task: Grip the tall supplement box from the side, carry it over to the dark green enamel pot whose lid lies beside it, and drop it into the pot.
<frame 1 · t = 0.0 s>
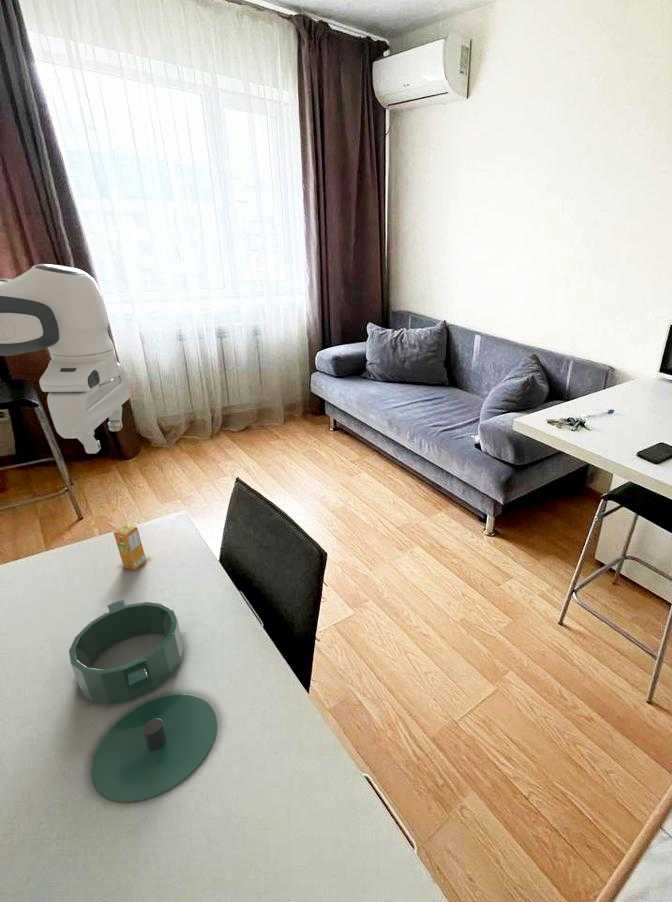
hand: (105, 440, 89), 31 cm above the table, tool pointing down, fingers open, 8 cm apart
pot: (134, 667, 82), on the table
pot lid: (157, 744, 71), point 1 cm above the table
supplement box: (135, 568, 105), on the table
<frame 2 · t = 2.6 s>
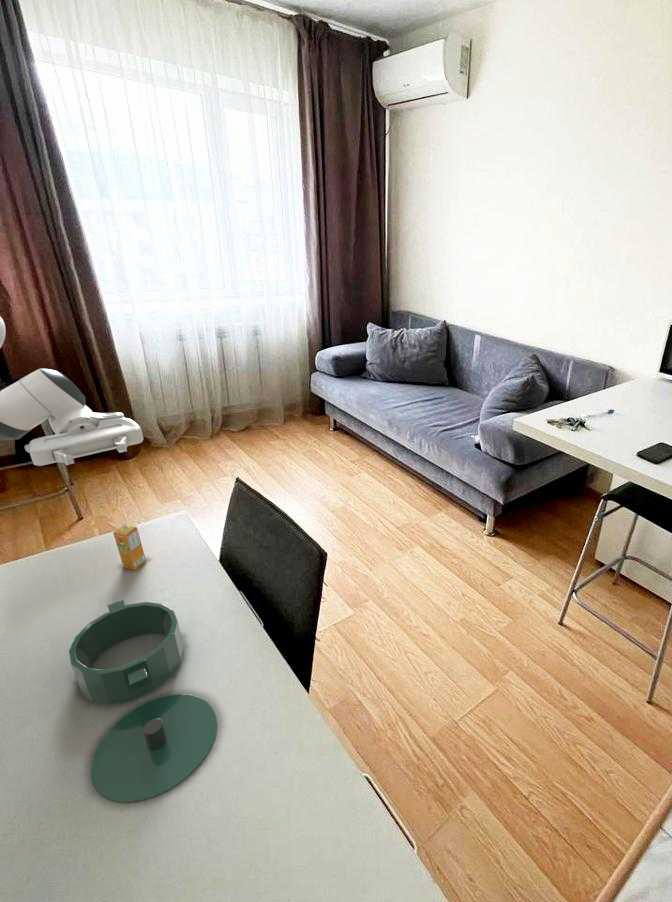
hand: (96, 454, 103), 22 cm above the table, tool horizontal, fingers open, 8 cm apart
nothing on the table moved.
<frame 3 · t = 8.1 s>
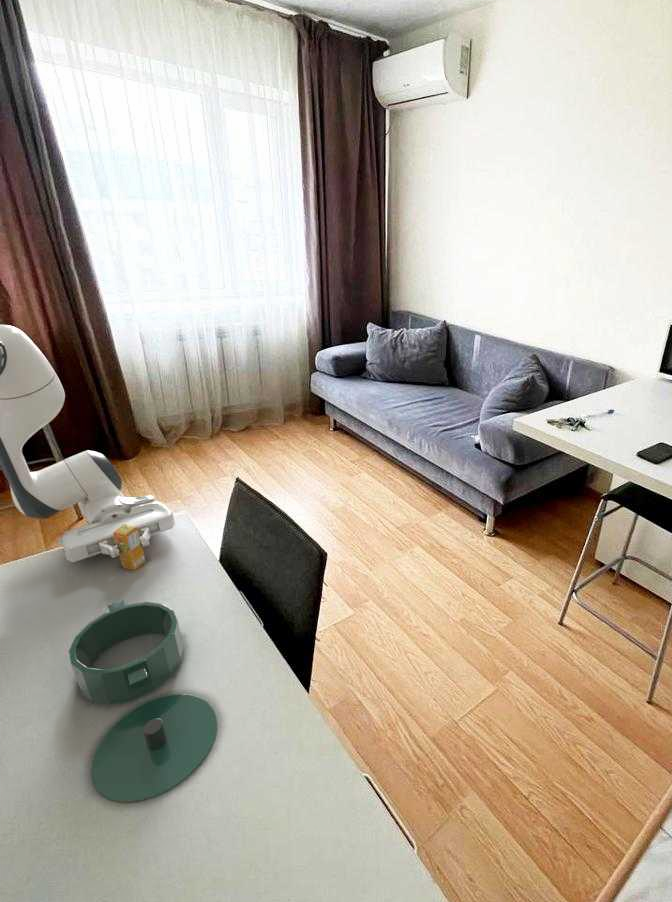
hand: (131, 548, 102), 6 cm above the table, tool horizontal, fingers closed on supplement box, 4 cm apart
supplement box: (134, 568, 104), on the table, touching gripper
everything else where it was.
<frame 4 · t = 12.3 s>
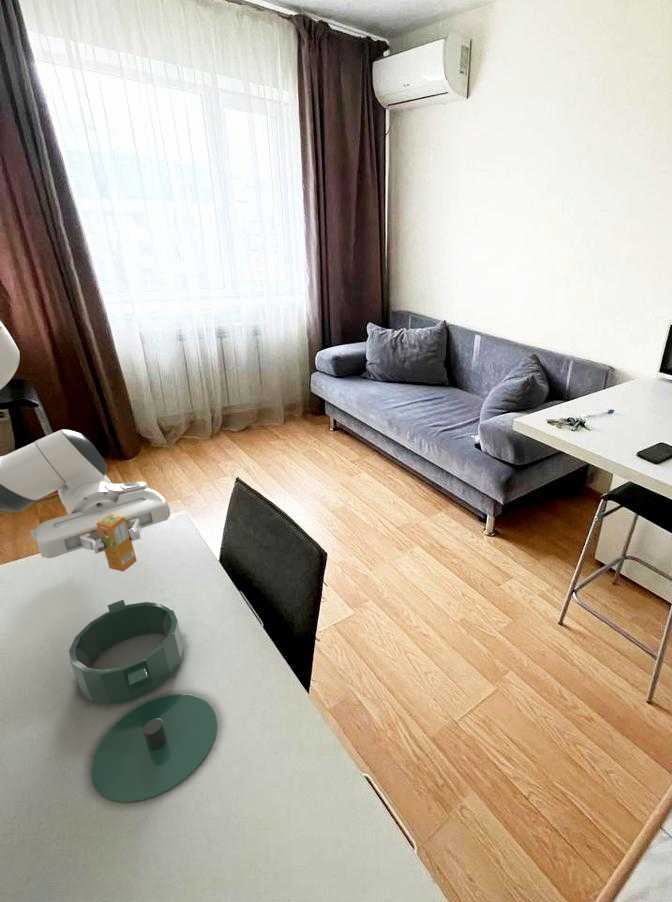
hand: (118, 542, 86), 17 cm above the table, tool horizontal, fingers closed on supplement box, 4 cm apart
supplement box: (122, 566, 89), point 11 cm above the table, touching gripper
everything else where it was.
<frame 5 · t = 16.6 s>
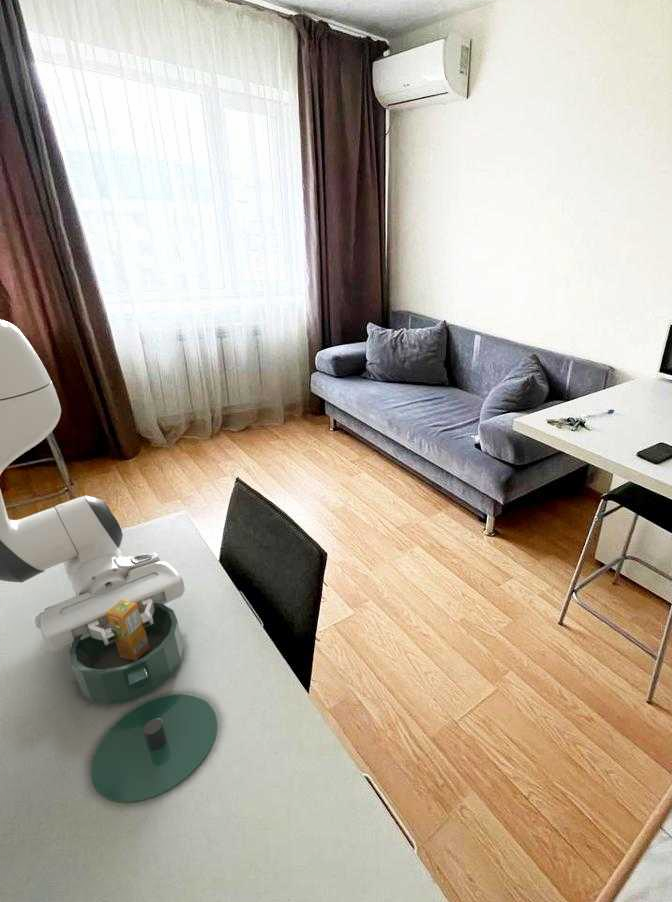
hand: (129, 631, 79), 9 cm above the table, tool horizontal, fingers closed on supplement box, 4 cm apart
supplement box: (134, 653, 82), point 3 cm above the table, touching gripper
everything else where it was.
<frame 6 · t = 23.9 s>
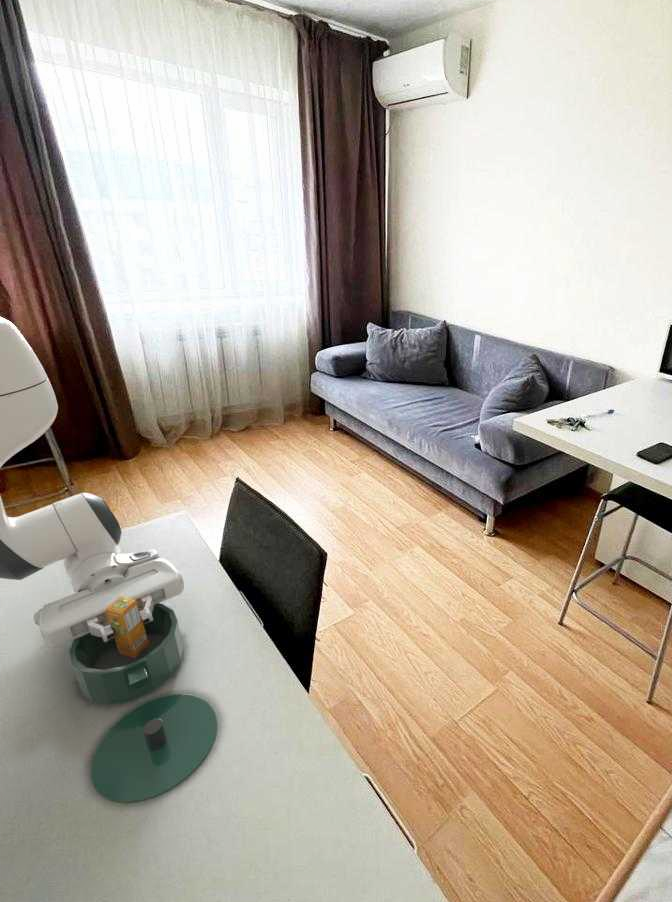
hand: (129, 628, 78), 9 cm above the table, tool horizontal, fingers closed on supplement box, 4 cm apart
supplement box: (134, 650, 81), point 4 cm above the table, touching gripper
everything else where it was.
when the fingers open (12 cm above the table, at t = 30.4 s): supplement box drops 4 cm, resting on pot.
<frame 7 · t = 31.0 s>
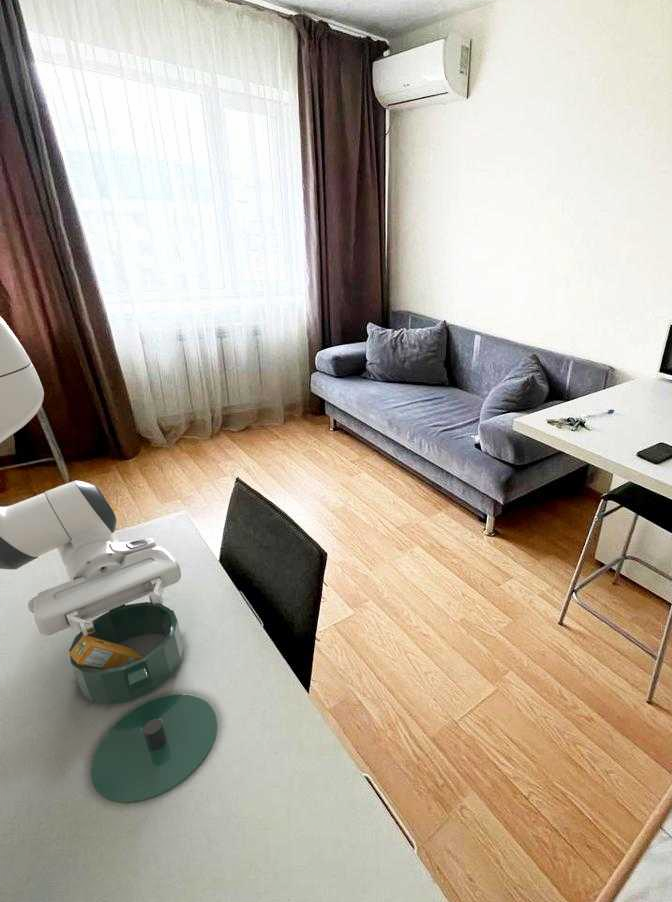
hand: (124, 615, 77), 12 cm above the table, tool horizontal, fingers open, 8 cm apart
supplement box: (133, 663, 82), point 1 cm above the table, touching pot
everything else where it was.
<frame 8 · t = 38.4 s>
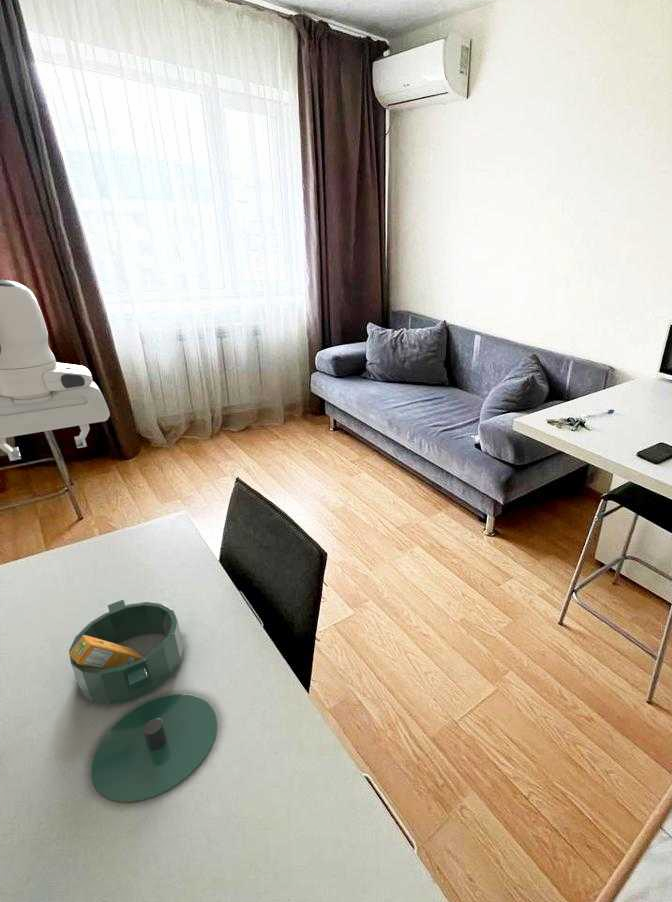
hand: (49, 452, 88), 29 cm above the table, tool pointing down, fingers open, 8 cm apart
nothing on the table moved.
at the end: supplement box inside the target area in the pot (0.2 cm from its centre), point 1.2 cm above the pot's base; the gripper is holding nothing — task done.
